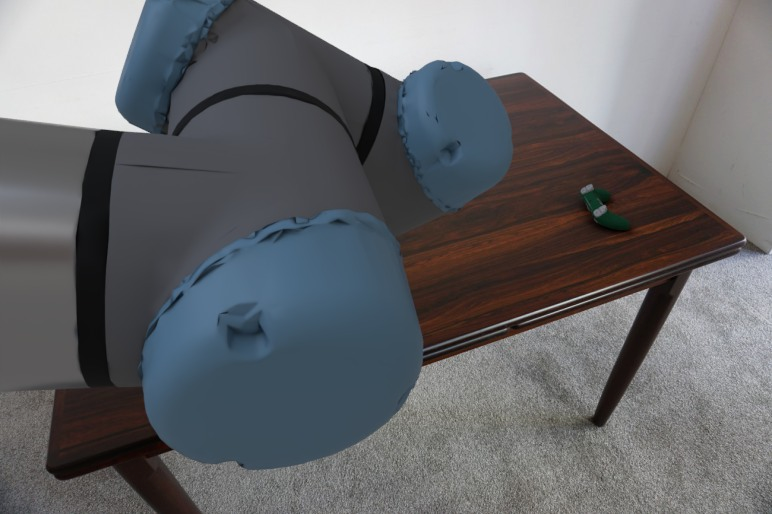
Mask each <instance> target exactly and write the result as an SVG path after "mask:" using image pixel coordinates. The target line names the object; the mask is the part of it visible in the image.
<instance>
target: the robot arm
mask: <svg viewBox="0 0 772 514" xmlns="http://www.w3.org/2000/svg"><path fill="white" fill-rule="evenodd" d="M114 103H115V107H116V109H117V111H118V113H119V114H120V115H121V116H122V118H123V119H124V120H126V121H127V123H128V124H130V125H132V126H134V127H137V128H138V129H141V130H142V131H145V132H139V131H125V130H115V129H105V128H95V127H87V126H78V125H70V124H61V123H53V122H44V121H34V120H25V119H17V118H8V117H1V116H0V393H10V392H11V393H12V392H31V391H32V392H33V391H55V390H75V389H95V388H107V387H116V388H138V387H139V388H140V387H141V388H142V392H143V403H144V409H145V414H146V416H147V419H148V422H149V424H150V425H151V427H152V429H153V430H154V432H155V434H157V436H158V438H159V439H160V440H161V441H162V442H163V443H164V444H166V446H168V447H169V448H170V449H172V450H173V451H175V452H177V453H178V454H180V455H182V456H184V457H186V458H187V459H189V460H191V461H194V462H198V463H200V464H205V465H219V464H224V463H228V462H236V464H237V465H238V466H239V467H240V468H243V469H245V470H247V471H263V470H265V471H266V470H275V469H283V468H289V467H295V466H299V465H304V464H306V463H310V462H314V461H317V460H320V459H324V458H327V457H330V456H333V455H335V454H338V453H341V452H343V451H345V450H347V449H349V448H351V447H353V446H355V445H357V444H358V443H360V442H362V441H364V440H365V439H367V438H368V437H370V436H371V435H373V434H374V433H376V432H377V431H378V430H380V429H381V428H383V427H384V426H385V425H386V424H388V423H389V422H390V420H391V419H393V417H394V416H396V414H397V413H398V412H400V410H401V409H402V408H403V406H404V405H405V403H406V401H407V400H408V397H409V396H410V393H411V391H412V390H413V389H415V388H416V383H417V381H418V379H419V378H420V374H421V371H422V367H423V363H424V338H423V333H422V330H421V329H422V328H421V326H420V321H419V318H418V315H417V311H416V307H415V304H414V299H413V295H412V292H411V287H410V284H409V282H408V281H409V280H408V277H407V273H406V270H405V266H404V262H403V261H404V257H403V255H402V252H401V243H400V242H399V241H398V239H397V238H398V237H400V236H402V235H404V234H406V233H408V232H410V231H412V230H414V229H417V228H419V227H421V226H423V225H426V224H427V223H429V222H432V221H433V220H436V219H438V218H440V217H442V216H444V215H447V214H451V213H457V212H459V211H460V210H461V209H462V208H464V206H465V205H467V204H468V203H469V202H471V201H473V200H474V199H475V198H478V196H480V195H482V194H484V193H485V192H487V191H488V190H490V189H492V188H493V187H495V186H497V184H499V182H501V181H502V180H503V179H504V178H505V176H506V175H507V174H508V172H509V170H510V168H511V165H512V160H513V155H514V145H513V139H512V137H513V129H512V123H511V120H510V118H509V115H508V112H507V110H506V108H505V105H504V103H503V101H502V100H501V98H500V96H499V95H498V93H497V92H496V90H495V89H494V88H493V86H492V85H491V84H490V83H489V82H488V81H487V79H485V78H484V77H483V76H482V75H481V74H480V73H479V72H478V71H476V70H475V69H474V68H472V67H471V66H469V65H467V64H465V63H464V62H463V63H462V62H460V61H458V60H455V61H446V60H442V59H435V60H432V61H430V62H428V63H426V64H425V65H423V66H422V67H420V68H419V69H418V70H416V69H414V70H412V71H410V72H409V74H408V75H407V76H406V77H405V78H403V79H402V80H399V79H397V78H396V77H394V76H392V75H390V74H388V73H387V72H385V71H384V70H382V69H379V68H377V67H374V66H371V65H369V64H368V63H365V62H363V61H361V60H360V59H358V58H357V57H354V56H352V55H351V54H349V53H348V52H346V51H344V50H342V49H340V48H338V47H337V46H335V45H333V44H332V43H330V42H328V41H326V40H325V39H323V38H321V37H319V36H318V35H316V34H314V33H312V32H311V31H308V30H307V29H305V28H303V27H301V25H298V24H297V23H295V22H293V21H292V20H289V19H287V17H284V16H283V15H280V14H279V13H277V12H275V11H273V10H271V9H270V8H268V7H267V6H265V5H263V4H261V3H260V2H258V1H256V0H145V1H144V4H143V7H142V9H141V12H140V15H139V18H138V21H137V24H136V27H135V30H134V32H133V36H132V38H131V42H130V45H129V48H128V51H127V54H126V56H125V60H124V63H123V66H122V69H121V72H120V76H119V79H118V84H117V87H116V91H115V96H114Z"/></svg>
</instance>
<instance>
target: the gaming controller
mask: <svg viewBox="0 0 772 514" xmlns="http://www.w3.org/2000/svg"><path fill="white" fill-rule="evenodd" d="M579 195H580V197H581V199H582V200H583V202H584V203H585V205H586V206H587V207H586V208H587V210H588V211H589V212H590V214H591V215H592V217H593V220H594V221H595V223H596V224H598V225H599V226H600V225H601V226H602V227H605V228H608V229H611V230H616V231H629V230H630V226H631V223H630V221H629V220H628V219H626V218H625V217H623V216H621V215H619V214H616V213H615V212H612V211H610V210H609V208H608V207H607V205H606V204H604V203H606V202H608V201H609V200H610V199H611V196H612V195H611V193H610V191H608V190H607V189H606V188H599V187H594V185H593V184H592V183H590V184H587V185H585V186H583V187H582V188H581V189H580V190H579Z"/></svg>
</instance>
